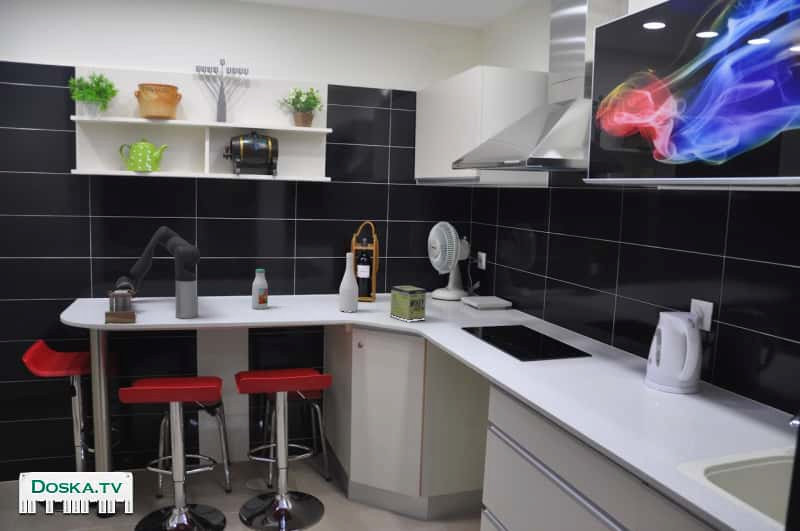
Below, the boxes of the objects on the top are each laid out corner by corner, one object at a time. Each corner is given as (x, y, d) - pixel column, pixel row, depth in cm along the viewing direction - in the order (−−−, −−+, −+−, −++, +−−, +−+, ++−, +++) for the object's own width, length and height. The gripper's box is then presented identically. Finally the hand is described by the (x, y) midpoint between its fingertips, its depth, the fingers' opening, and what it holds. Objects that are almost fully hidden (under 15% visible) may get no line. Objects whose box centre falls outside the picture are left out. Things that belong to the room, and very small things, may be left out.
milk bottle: (252, 309, 330) (252, 270, 328) (251, 306, 338) (252, 268, 335) (268, 309, 333) (268, 270, 330) (266, 306, 340) (267, 268, 338)
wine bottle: (354, 313, 331) (356, 254, 327) (336, 312, 332) (338, 253, 329) (359, 310, 340) (361, 252, 336) (342, 308, 342) (343, 251, 338)
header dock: (108, 316, 301) (107, 289, 299) (136, 315, 305) (136, 288, 303) (105, 323, 286) (104, 295, 284) (134, 323, 290) (134, 294, 288)
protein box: (408, 322, 313) (409, 290, 311) (389, 317, 326) (390, 286, 324) (425, 320, 319) (427, 289, 318) (406, 315, 332) (407, 284, 330)
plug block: (115, 317, 298) (115, 290, 296) (127, 316, 300) (127, 290, 298) (114, 319, 293) (114, 292, 292) (127, 319, 295) (126, 292, 293)
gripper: (109, 283, 317) (105, 288, 302) (140, 283, 322) (139, 288, 307) (109, 298, 318) (106, 304, 303) (140, 298, 323) (139, 304, 308)
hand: (122, 296), depth 305 cm, fingers open, 8 cm apart
